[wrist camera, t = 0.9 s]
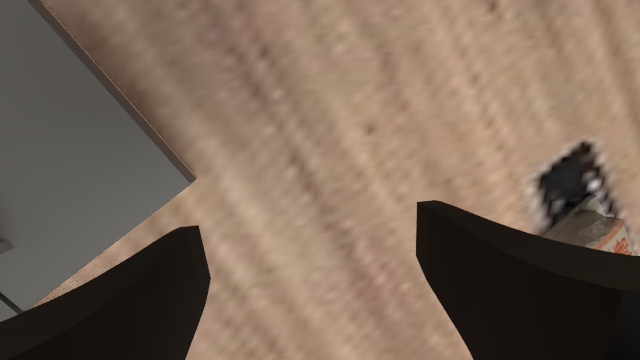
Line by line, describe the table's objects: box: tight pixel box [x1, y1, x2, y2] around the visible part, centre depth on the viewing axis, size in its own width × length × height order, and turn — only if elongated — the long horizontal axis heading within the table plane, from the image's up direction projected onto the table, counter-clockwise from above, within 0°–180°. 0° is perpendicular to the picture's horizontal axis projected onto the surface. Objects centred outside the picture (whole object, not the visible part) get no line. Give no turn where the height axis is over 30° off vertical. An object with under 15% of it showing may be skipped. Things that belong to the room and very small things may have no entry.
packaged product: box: [542, 195, 637, 256], centre depth 34 cm, size 18×5×10 cm
